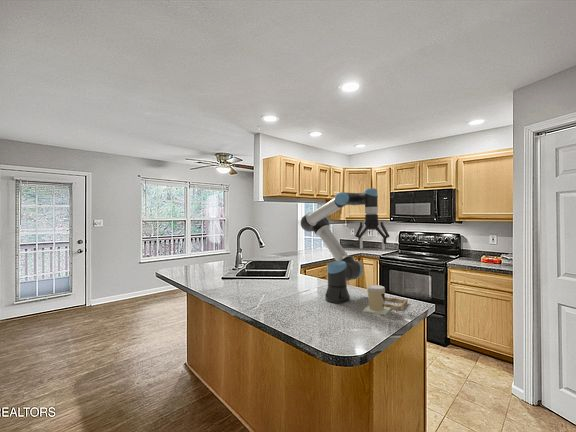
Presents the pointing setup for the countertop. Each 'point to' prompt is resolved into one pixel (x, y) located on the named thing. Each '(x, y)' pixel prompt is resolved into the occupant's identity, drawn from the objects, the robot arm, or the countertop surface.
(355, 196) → the robot arm
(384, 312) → the sage tile
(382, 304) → the coffee cup
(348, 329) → the countertop surface
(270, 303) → the countertop surface
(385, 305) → the oak frame
